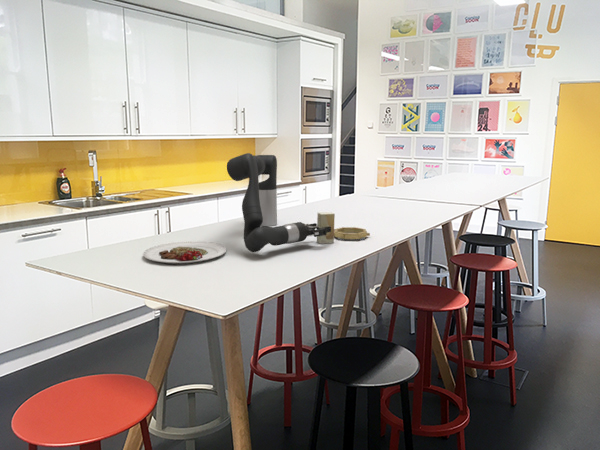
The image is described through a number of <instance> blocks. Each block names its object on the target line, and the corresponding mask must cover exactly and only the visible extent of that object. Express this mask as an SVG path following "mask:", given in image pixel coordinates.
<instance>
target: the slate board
mask: <svg viewBox="0 0 600 450" xmlns="http://www.w3.org/2000/svg"><path fill="white" fill-rule="evenodd" d="M337 240H338V241H365V240H366V237H364V238H361V239H342V238H337Z"/></svg>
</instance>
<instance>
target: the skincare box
mask: <svg viewBox="0 0 600 450" xmlns="http://www.w3.org/2000/svg"><path fill="white" fill-rule="evenodd" d="M335 217H336V216H335V213H334V212H332V211H329V212H326V211H324V212H317V217H316V219H317V221H316V222H317V223H316V224H317V226H318V227H319V228H323V227H329V226H330V227H331V232H328V233H327V235H323V236H318V237H316V243H318V244H320V245H321V244H334V243H335V241H334V240H335V236H334V229H335Z"/></svg>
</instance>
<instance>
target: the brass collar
mask: <svg viewBox="0 0 600 450" xmlns="http://www.w3.org/2000/svg"><path fill="white" fill-rule="evenodd" d="M370 236H371V233H370V232H368V231H367V230H366V228H361V227H356V226H353V227H352V226H351V227H350V226H349V227H348V226H346V227H344V226H342V227H339V228H338V227H337V228H334V238H337V239H338V238H342V239H361V238H368V237H370Z"/></svg>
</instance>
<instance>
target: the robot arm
mask: <svg viewBox="0 0 600 450" xmlns="http://www.w3.org/2000/svg"><path fill="white" fill-rule="evenodd" d="M277 159H278V158H277V157H276V155H274V154H258V155H254V154H252V153H250V152H247V153H243V154H240V155H238V156H235V157H232V158H230V159H229V160H228V161H227V164H226V172H227V174H228V176H229V177H230V178H231V179H232V180H233V181H235V182H240V181H243V180H247V179H248V185H247V188H246V191H245V193H244V197H243V198H242V203H241V211H242V214H243V215H242V216H243V221H244V223H243V224H244V226H243V243H244V245H245V248H246V249H247V250H248V251H249V252H252V253H258V252H259V251H261V250H262V249H263V248H264V247H265V246H267V245H271V246H275V247H276V246H280V245H281V246H282V245H289V244H294V243H300V242H304V241H305V240H306V239H307V237H312V236H313V237H315V238H317V237H318V236H323V235H327V233H328V232H331V227H330V226H329V227H323V228H319V227H318V226H317V223H315V222H314V223H303V222H301V221H299V222H298V221H297V222H291V223H287V224H283V225H279V226H277V225H278V212H277V211H278V205H277V204H278V203H277V202H278V201H277V200H278V199H277V197H278V195H277V193H278V192H277V190H278V189H277V187H278V186H277V185H278V184H277V183H278V182H277V172H278V170H277V169H278V160H277ZM261 175H265V176H266V175H267V176H268V178H266V179H265V180H263V181H260V182H259V176H261Z"/></svg>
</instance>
